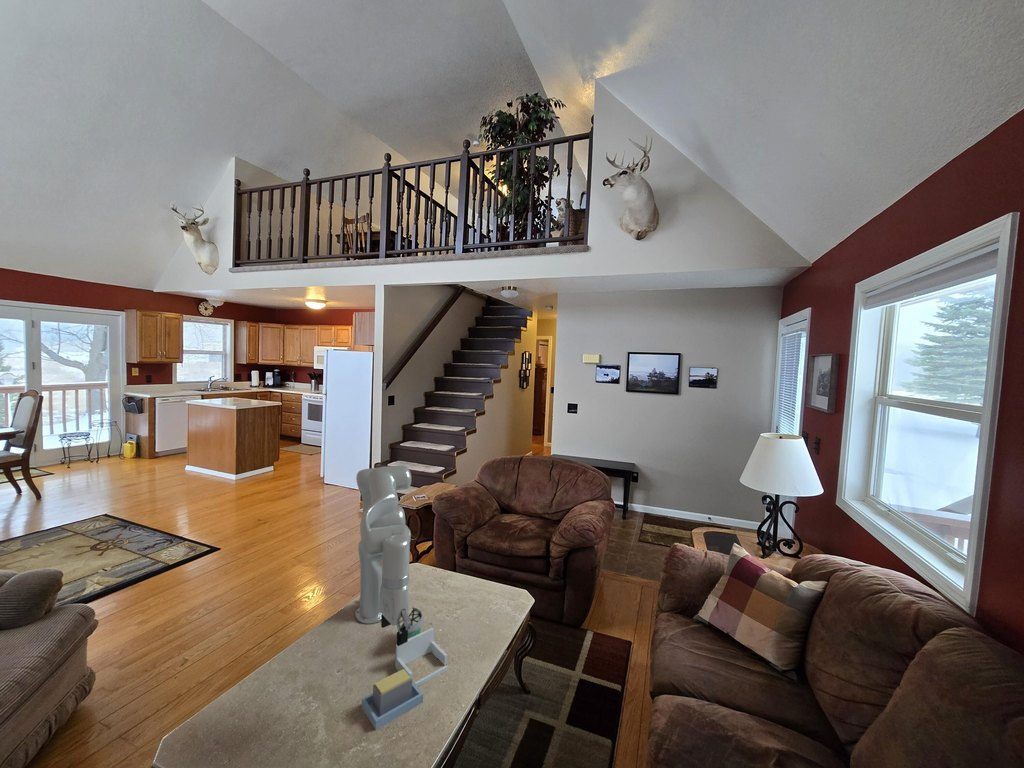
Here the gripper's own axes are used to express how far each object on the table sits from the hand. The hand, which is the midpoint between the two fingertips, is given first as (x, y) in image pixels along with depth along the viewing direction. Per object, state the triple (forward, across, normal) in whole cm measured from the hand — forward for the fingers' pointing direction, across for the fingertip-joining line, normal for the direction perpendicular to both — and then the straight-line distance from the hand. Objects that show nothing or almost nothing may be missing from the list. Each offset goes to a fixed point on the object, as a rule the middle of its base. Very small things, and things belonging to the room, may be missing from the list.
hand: (394, 634), depth 127 cm
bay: (+22, -7, +14) cm, 27 cm away
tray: (+22, 0, 0) cm, 22 cm away
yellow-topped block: (+22, 0, 0) cm, 22 cm away
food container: (+22, -19, +17) cm, 34 cm away
